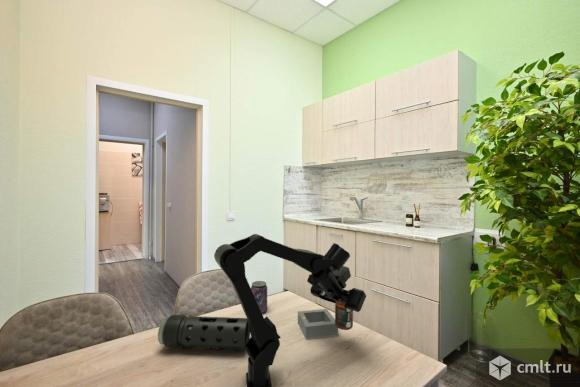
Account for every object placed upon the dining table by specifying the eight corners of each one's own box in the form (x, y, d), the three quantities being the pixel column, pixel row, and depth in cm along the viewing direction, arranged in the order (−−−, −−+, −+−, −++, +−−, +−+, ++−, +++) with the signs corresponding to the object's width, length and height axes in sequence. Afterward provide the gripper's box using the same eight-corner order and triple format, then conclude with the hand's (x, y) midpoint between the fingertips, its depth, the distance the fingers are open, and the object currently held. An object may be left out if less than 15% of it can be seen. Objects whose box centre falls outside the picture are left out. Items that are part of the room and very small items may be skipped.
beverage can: (247, 313, 112) (247, 285, 112) (254, 306, 119) (254, 279, 119) (263, 316, 110) (263, 287, 110) (269, 308, 117) (269, 281, 117)
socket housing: (338, 336, 95) (338, 322, 95) (305, 339, 93) (305, 326, 93) (326, 319, 107) (326, 308, 107) (297, 322, 105) (297, 310, 105)
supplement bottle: (354, 331, 87) (354, 297, 87) (335, 330, 88) (336, 296, 88) (351, 322, 93) (352, 290, 93) (334, 321, 94) (334, 289, 94)
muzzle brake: (244, 359, 82) (244, 326, 82) (156, 355, 84) (156, 322, 84) (250, 342, 92) (250, 312, 91) (171, 338, 93) (171, 309, 93)
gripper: (363, 265, 81) (380, 292, 89) (316, 254, 94) (334, 278, 102) (349, 298, 75) (367, 324, 83) (300, 281, 89) (320, 305, 96)
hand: (346, 305), depth 91 cm, fingers closed on supplement bottle, 6 cm apart
